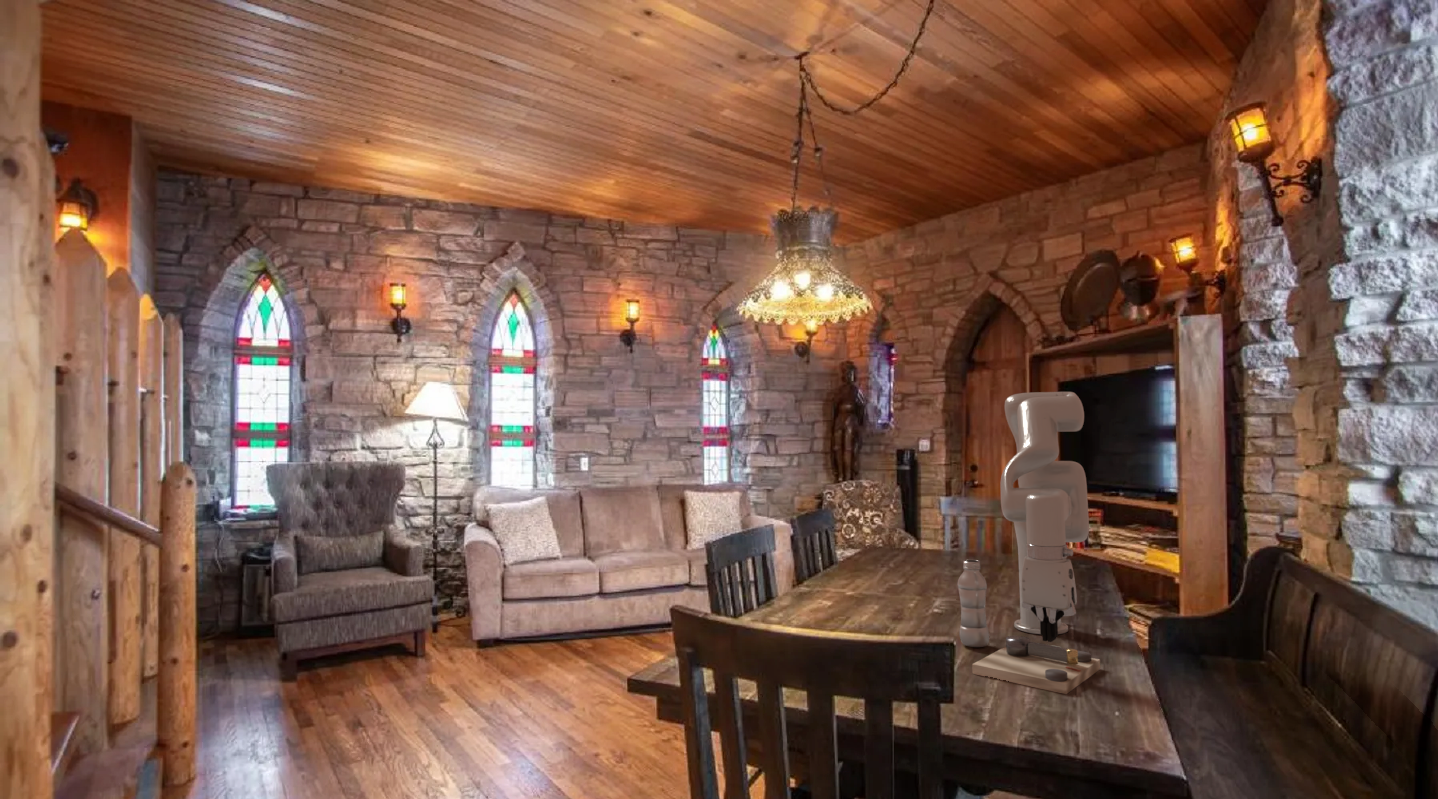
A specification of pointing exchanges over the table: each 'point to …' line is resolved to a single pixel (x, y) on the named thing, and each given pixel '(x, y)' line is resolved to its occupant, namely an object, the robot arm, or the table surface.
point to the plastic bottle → (973, 605)
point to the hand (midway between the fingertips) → (1049, 639)
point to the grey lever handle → (1039, 650)
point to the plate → (1037, 670)
